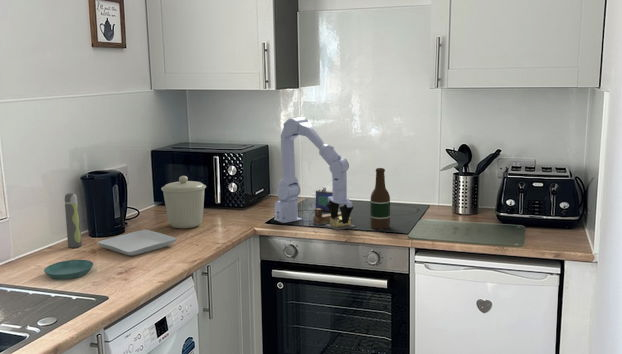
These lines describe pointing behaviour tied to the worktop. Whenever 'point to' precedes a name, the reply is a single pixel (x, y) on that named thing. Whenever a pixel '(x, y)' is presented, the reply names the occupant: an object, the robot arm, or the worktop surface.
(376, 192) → the beer bottle
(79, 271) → the saucer
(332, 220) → the pale yellow block
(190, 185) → the canister
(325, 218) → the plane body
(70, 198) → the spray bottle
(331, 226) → the mat
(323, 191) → the flask
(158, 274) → the worktop surface
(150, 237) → the salad plate
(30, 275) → the worktop surface
